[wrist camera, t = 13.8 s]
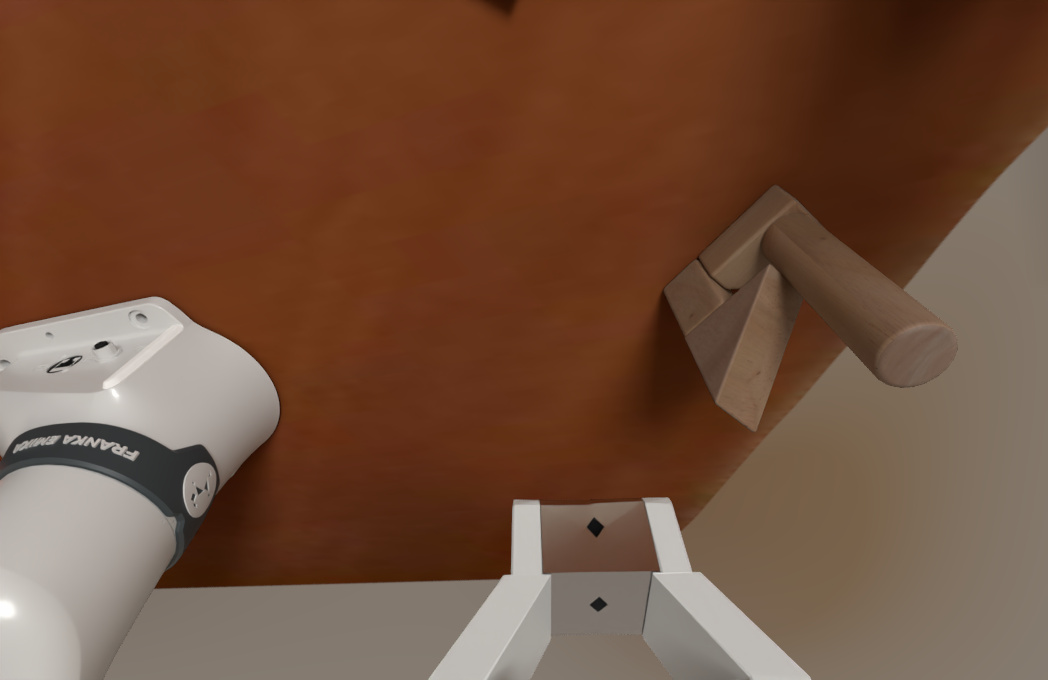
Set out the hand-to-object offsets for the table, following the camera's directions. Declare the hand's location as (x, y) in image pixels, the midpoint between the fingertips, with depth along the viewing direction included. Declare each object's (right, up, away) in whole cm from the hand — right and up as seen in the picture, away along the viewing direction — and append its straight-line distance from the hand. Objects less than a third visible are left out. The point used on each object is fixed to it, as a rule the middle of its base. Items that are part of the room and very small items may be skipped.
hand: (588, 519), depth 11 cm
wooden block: (+14, +10, +31) cm, 35 cm away
